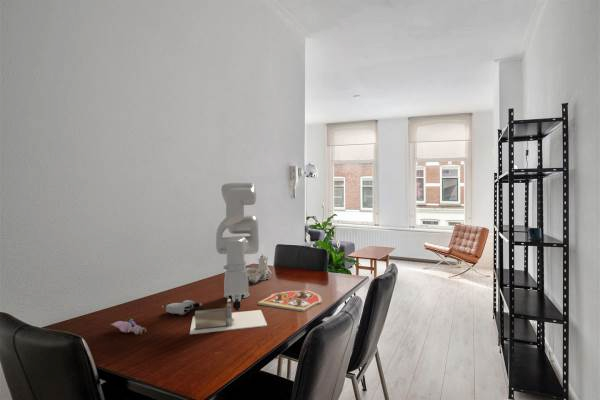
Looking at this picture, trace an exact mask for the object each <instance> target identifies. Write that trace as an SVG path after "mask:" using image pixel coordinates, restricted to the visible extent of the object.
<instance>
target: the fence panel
mask: <svg viewBox="0 0 600 400" xmlns="http://www.w3.org/2000/svg"><path fill="white" fill-rule="evenodd" d="M226 307H232V300H231V299H228V298H227V303H226Z"/></svg>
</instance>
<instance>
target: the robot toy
mask: <svg viewBox="0 0 600 400" xmlns="http://www.w3.org/2000/svg"><path fill="white" fill-rule="evenodd" d="M202 306H203V303H199V302H195V301H193V300H191V299H190V300H189V299H186V300H183V301H181V302H172V303H169V304H166V306H164V305H162V306H161V307H162V308H165V311H166V313H170V314H171V315H175V314H176V315H177V314H178V315H179V316H184V315H185V314H187V313H189V312H190V311H191V310H193V309H194V308H199V307H202Z"/></svg>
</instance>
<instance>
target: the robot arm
mask: <svg viewBox="0 0 600 400" xmlns="http://www.w3.org/2000/svg"><path fill="white" fill-rule="evenodd" d="M221 195H222V198H223V202H224V203H225V218H224V219H222V221H221V222H220V223H219V225H218V226H217V229H216V236H215V240H216V241H215V249H216V251H217V253H218V254H220V255H226V265H223V269H224V270H225V273H224V281H223V283H224V285H223V288H224V290H223V291H224V292H223V293H224V294H223V298H226V299H227V300H228V299H231V302H232V307H233V309H234V311H235V312H240V309H241V300H242V299H245V298H248V297H249V296H250V292H249V277H248V275H247V271H246V269H247V264H246V263H247V262H246V261H245V255H254V254H257V253H258V252H259V250H260V242H259V241H260V240H259V222H258V218H257V217H256V216H255V215H245V207H244V206H250V205H251V206H253V205H255V204H256V201H257V191H256V186H255V185H254V183H253V182H229V183H224V184H222V185H221ZM226 230H228V232H229V233H230V234H233V235H241V234H246V235H244V236H242V235H241V236H227V237H226V236H225V237H224V235H223V233H224V232H225V231H226ZM247 234H249V235H247ZM233 309H232V310H233Z"/></svg>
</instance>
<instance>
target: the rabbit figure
mask: <svg viewBox="0 0 600 400" xmlns="http://www.w3.org/2000/svg"><path fill="white" fill-rule="evenodd" d="M132 325H133V326H132ZM110 326H114V327H115V328H118V330H120V331H121V332H122V333H130V332H131V333H134V334H135V335H139V334H140V335H142V334H143V331H144V333H146V332H147V328H146V327H142V326H141V325H138V324H136V322H135V321H134V319H133V318H130V319H129V321H123V320H122V321H121V320H119V321H115V322H113V323H110Z"/></svg>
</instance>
